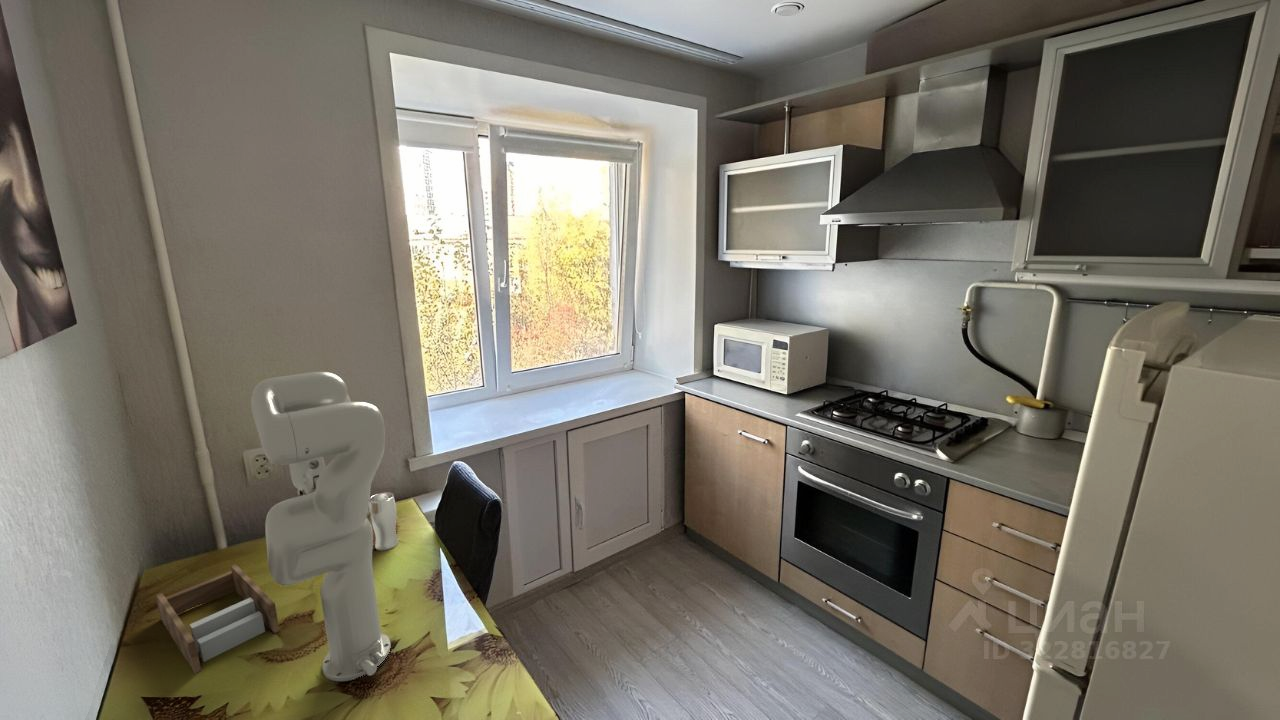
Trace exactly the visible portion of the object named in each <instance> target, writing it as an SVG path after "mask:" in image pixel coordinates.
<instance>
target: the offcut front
mask: <svg viewBox="0 0 1280 720" xmlns="http://www.w3.org/2000/svg"><path fill="white" fill-rule="evenodd" d="M265 632H266V628H265V622H264V621H263V616H262V614H261V613H260V612H259V611H258V612H256V613H254V614H252V615H249V616H247V617H245V618H243V619H241V620H239V621H236V622H234V623H232V624H230V625H228V626H226V627H224V628H221V629H219V630H217V631H215V632H213V633H211V634H208V635H206V636H204V637H202V638H200V639H198V640H197V642H198V646H199V651H200V652H199V655H200V659H201V661H202V662H206V661H209V660H211V659H212V658H214V657H217V656H219V655H221V654H223V653H225V652H226V651H229V650H231V649H233V648H235V647H237V646H238V645H241V644H243V643H246V642H247V641H249V640H251V639H253V638H255V637H257V636H260V635H261V634H263V633H265Z"/></svg>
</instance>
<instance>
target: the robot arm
mask: <svg viewBox="0 0 1280 720" xmlns="http://www.w3.org/2000/svg"><path fill="white" fill-rule="evenodd" d="M250 401H251V403H250V404H251V405H250V406H251V413H252V416H253V420H254V424H255V427H256V429H257V433H258V437H259V441H260V444H261V447H262V451H263V453H264V455H265V457H266V458H267V460H268V461H269V462H271V463H272V464H274V465H275V466H276V465H277V466H287V465H289V466H288V467H289V474H290V477H291V478H290V479H291V482H292V485H293V487H294V488H296V489H297V490H296V491H297V496H296V497H291V498H288V499H285V500H282V501H280V502H278V503H275V504H274V505H273V506H272V507H271V508H270V509H269V511H268V512H267V514H266V517H265V525H264V528H265V543H266V553H267V556H266V557H267V564H268V569H269V573H270V575H271V577H272V579H273V581H274V582H275V583H277V584H278V585H281V586H292V585H294V584H299V583H301V582H305V581H307V580H310V579H313V578H315V577H318V576H320V575H323V574H325V575H324V578H323V580H322V582H321V587H320V592H319V593H320V600H321V608H322V614H323V621H324V627H325V633H326V640H327V644H328V653H327V654H326V655H325V657H324V659H323V661H322V664H321V667H322V672H323V675H324V677H325V678H326V679H328V680H329V681H330V680H331V681H335V682H347V681H353V680H356V678H357V679H359V678H358V677H360V678H362V677H364V676H366V675H367V676H373V675H374V674H375V673H376V671H377V669H378V667H377V666H379V665H380V664H381V663H382V662H383V661H384V660H385V658H386V657H387V655H388V654H389V655H390V653H391V651H390V648H391V649H392V645H391V643H392V642H391V640H390V638H389V636H388V635H386V634H385V633H382V632H381V624H380V616H379V609H378V602H377V601H378V600H377V593H376V587H375V586H376V585H375V578H374V569H373V546H374V529H373V526H372V523H371V520H370V519H368V514H369V498H370V497H371V486H372V482H373V479H374V477H375V475H376V473H377V471H378V469H379V467H380V464H381V462H382V459H383V457H384V453H385V448H386V447H385V445H386V426H385V420H384V417H383V414H382V412H381V411H380V409H379V408H378V407H377V406H375V405H374V404H372V403H368V402H365V401H352V400H351V398H350V396H349V394H348V387H347V385H346V383H345V381H344V380H343V379H342V378H341V377H340V376H338V375H337V374H334V373H333V372H328V371H313V372H305V373H304V372H303V373H298V374H289V375H284V376H276V377H270V378H265V379H263V380H261V381H260V382H258V383H257V384H256V385H255V387H254V388H253V392H252V394H251V400H250ZM336 454H337V455H336ZM332 455H333V456H334V455H336V456H335V457H334V458H333V459H332V460H331V461H329V463H328V464H327V465H326V463H325V462H326V461H325V459H324V457H328V456H332ZM312 489H313V490H314V491H313V492H312ZM302 490H304V493H305V495H303V492H302ZM315 490H316V491H315ZM389 652H390V653H389ZM389 655H388V656H389ZM387 658H388V657H387ZM387 658H386V659H387ZM385 661H386V660H385ZM385 661H384V662H385ZM384 662H383V663H384ZM383 663H382V664H383ZM382 664H381V665H382ZM381 665H380V666H381ZM380 666H379V667H380ZM365 674H366V675H365ZM363 675H364V676H363ZM361 676H362V677H361Z"/></svg>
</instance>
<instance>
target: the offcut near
mask: <svg viewBox="0 0 1280 720" xmlns="http://www.w3.org/2000/svg"><path fill="white" fill-rule="evenodd" d="M254 613H256V610H255V605H254V600H253V599H252V598H251V597H250V598H248V599H246V600H244V599H243V600H242V601H239V602H237V603H235V604H233V605H229V606H228V607H225V608H224V609H222V610H219V611H217V612H215V613H212V614H210V615H207V616H206V617H203V618H201V619H199V620H197V621H195V622H191V623H190V624H189V628H190V634H191V636H192V637H193V639H194V640H195V644H196V648H197V653H200V651H199V646H198V642H197V640H198V639H200V638H202V637H204V636H206V635H208V634H211V633H213V632H215V631H217V630H219V629H221V628H224V627H226V626H228V625H230V624H232V623H234V622H236V621H239V620H241V619H243V618H245V617H247V616H249V615H252V614H254Z"/></svg>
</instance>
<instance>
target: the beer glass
mask: <svg viewBox="0 0 1280 720" xmlns="http://www.w3.org/2000/svg"><path fill="white" fill-rule="evenodd" d="M368 514H369V521H370V523H371V526H372V530H373V533H374V535H375V544H374V545H375V546H374V547H375V549H376V550H378V551H381V552H382V551H388V550H390V549H393V548H395V547H396V546H398V544H399V539H398V536H397V532H396V526H397V525H396V523H397V506H396V500H395V496H394V493H392V492H389V491H387V492H379V493H375V494H374V495H372V496H371V495H370V498H369V507H368Z"/></svg>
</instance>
